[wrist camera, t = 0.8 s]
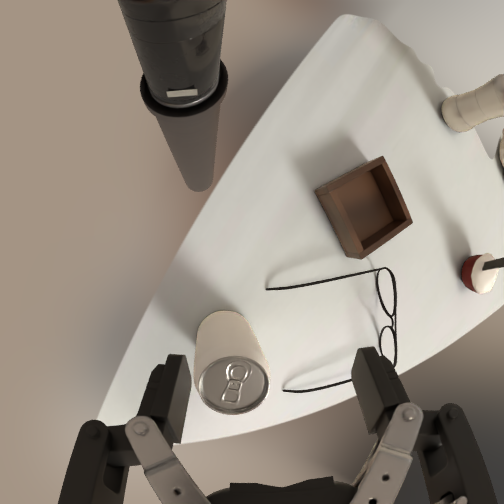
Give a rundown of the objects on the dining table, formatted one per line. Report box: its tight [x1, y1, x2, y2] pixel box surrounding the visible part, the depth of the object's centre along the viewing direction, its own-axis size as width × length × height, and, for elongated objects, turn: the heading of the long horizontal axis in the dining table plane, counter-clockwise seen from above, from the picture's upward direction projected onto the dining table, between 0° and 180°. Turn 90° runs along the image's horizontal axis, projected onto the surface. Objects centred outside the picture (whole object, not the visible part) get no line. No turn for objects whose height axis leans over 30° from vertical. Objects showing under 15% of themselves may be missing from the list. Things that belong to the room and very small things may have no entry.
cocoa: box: [461, 253, 504, 294], centre depth 31 cm, size 10×6×12 cm, turn 32°
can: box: [194, 311, 270, 415], centre depth 26 cm, size 6×6×12 cm
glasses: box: [266, 267, 397, 393], centre depth 32 cm, size 14×15×5 cm
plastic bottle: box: [441, 74, 504, 132], centre depth 25 cm, size 6×7×20 cm
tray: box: [314, 156, 413, 259], centre depth 32 cm, size 9×9×4 cm
